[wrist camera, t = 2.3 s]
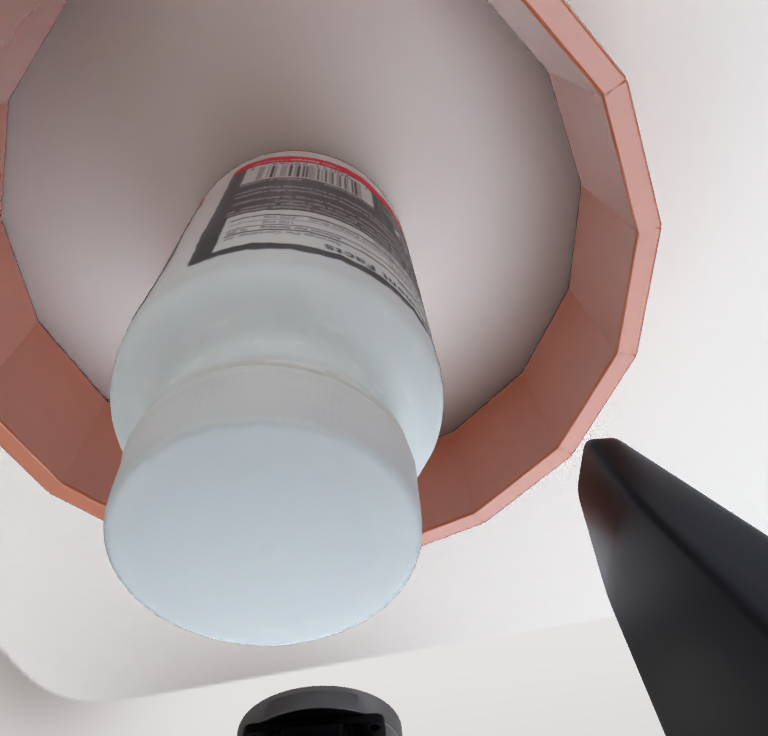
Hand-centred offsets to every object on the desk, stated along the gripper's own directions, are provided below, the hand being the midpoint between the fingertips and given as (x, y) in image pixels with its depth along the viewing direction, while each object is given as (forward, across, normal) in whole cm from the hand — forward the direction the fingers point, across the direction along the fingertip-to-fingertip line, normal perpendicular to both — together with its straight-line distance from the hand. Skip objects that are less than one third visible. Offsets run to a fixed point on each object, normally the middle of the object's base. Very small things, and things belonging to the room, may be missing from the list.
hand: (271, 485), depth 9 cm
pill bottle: (+9, 0, 0) cm, 9 cm away
